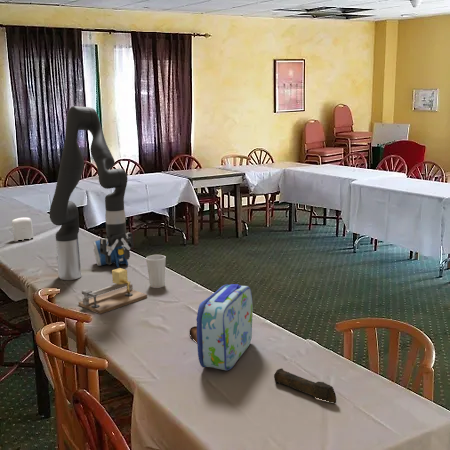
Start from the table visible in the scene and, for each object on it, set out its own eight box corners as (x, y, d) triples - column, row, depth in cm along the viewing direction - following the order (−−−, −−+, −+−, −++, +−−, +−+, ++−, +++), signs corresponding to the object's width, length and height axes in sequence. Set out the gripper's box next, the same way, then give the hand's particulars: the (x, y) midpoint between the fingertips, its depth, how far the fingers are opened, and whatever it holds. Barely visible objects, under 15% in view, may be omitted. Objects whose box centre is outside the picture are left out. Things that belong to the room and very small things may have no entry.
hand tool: (272, 384, 163) (272, 368, 162) (282, 378, 166) (282, 363, 165) (329, 409, 150) (329, 393, 149) (338, 403, 153) (338, 387, 152)
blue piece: (123, 257, 285) (117, 227, 281) (128, 265, 272) (122, 234, 267) (96, 264, 282) (89, 234, 278) (100, 273, 268) (92, 241, 264)
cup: (170, 283, 247) (169, 255, 244) (160, 289, 240) (159, 261, 237) (154, 281, 251) (152, 253, 248) (143, 287, 244) (142, 259, 241)
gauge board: (78, 305, 225) (77, 289, 224) (125, 289, 241) (124, 275, 240) (100, 314, 216) (99, 298, 215) (147, 297, 232) (146, 282, 230)
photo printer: (14, 242, 320) (12, 219, 317) (13, 240, 324) (10, 218, 321) (34, 239, 325) (31, 217, 322) (32, 237, 328) (30, 215, 326)
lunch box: (225, 336, 194) (223, 275, 190) (256, 340, 191) (255, 278, 186) (193, 372, 171) (190, 304, 166) (228, 378, 167) (226, 308, 162)
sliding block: (113, 291, 234) (111, 270, 232) (121, 288, 237) (120, 267, 235) (125, 295, 229) (124, 274, 227) (133, 293, 232) (132, 271, 230)
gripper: (124, 216, 235) (126, 255, 239) (94, 222, 225) (97, 263, 229) (136, 219, 230) (138, 259, 234) (106, 226, 220) (108, 267, 224)
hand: (117, 261), depth 231 cm, fingers open, 8 cm apart
